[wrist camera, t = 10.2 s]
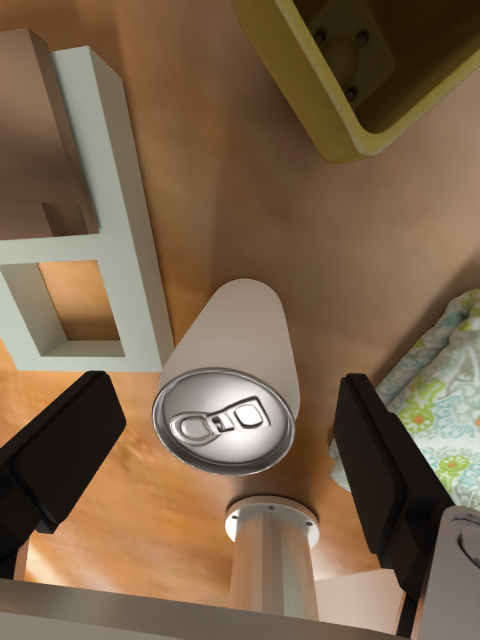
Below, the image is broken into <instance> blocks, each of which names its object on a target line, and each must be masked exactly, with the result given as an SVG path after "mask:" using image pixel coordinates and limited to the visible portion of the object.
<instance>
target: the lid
mask: <svg viewBox="0 0 480 640" xmlns="http://www.w3.org/2000/svg"><path fill="white" fill-rule="evenodd" d="M89 234H100V232H99V229H98V225H97V222H96V218H95V215H94V211H93V207H92V204H91V200H90V197H89V193H88V190H87V186H86V182H85V179H84V175H83V172H82V168H81V165H80V161H79V157H78V154H77V150H76V147H75V143H74V140H73V136H72V132H71V129H70V125H69V122H68V118H67V115H66V111H65V107H64V104H63V100H62V97H61V93H60V90H59V86H58V82H57V79H56V75H55V72H54V68H53V65H52V61H51V58H50V54H49V50H48V47H47V43H46V42H45V41H44V40H43V39H41V38H40V37H39V36H38V35H36V34H35V33H34V32H33V31H32V30H30V29H29V28H28V27H25V28H20V29H15V30H9V31H4V32H0V241H1V240H17V239H33V238H49V237H63V236H76V235H89Z"/></svg>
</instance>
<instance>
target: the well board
mask: <svg viewBox="0 0 480 640" xmlns="http://www.w3.org/2000/svg"><path fill="white" fill-rule="evenodd" d="M49 54H50V58H51V61H52V65H53V68H54V72H55V75H56V79H57V82H58V86H59V90H60V93H61V97H62V100H63V104H64V107H65V111H66V115H67V118H68V122H69V125H70V129H71V132H72V136H73V140H74V143H75V147H76V150H77V154H78V157H79V161H80V165H81V168H82V172H83V175H84V179H85V182H86V186H87V190H88V193H89V197H90V200H91V204H92V207H93V211H94V215H95V218H96V222H97V225H98V229H99V232H100V234H89V235H76V236H63V237H49V238H33V239H17V240H1V241H0V337H1V339H2V341H3V343H4V344H5V346H6V348H7V350H8V352H9V354H10V356H11V358H12V360H13V362H14V363H15V365H16V367H17V369H18V370H19V371H90V370H98V371H105V372H162V370H163V368H164V366H165V364H166V362H167V360H168V359H169V357H170V356H171V354H172V353H173V351H174V350H175V347H174V342H173V337H172V331H171V326H170V321H169V316H168V311H167V306H166V301H165V296H164V291H163V286H162V280H161V275H160V270H159V265H158V260H157V255H156V250H155V245H154V240H153V234H152V229H151V224H150V219H149V214H148V209H147V204H146V199H145V194H144V189H143V183H142V178H141V173H140V168H139V163H138V158H137V153H136V148H135V143H134V138H133V132H132V127H131V122H130V117H129V112H128V107H127V102H126V97H125V92H124V86H123V81H122V79H121V78H120V77H119V76H118V75H117V74H116V73H115V72H114V71H113V70H112V69H111V68H110V67H109V66H108V65H107V64H106V63H105V62H104V61H103V60H102V59H101V58H100V57H99V56H98V55H97V54H96V53H95V52H94V51H93V50H92V49H91V48H90V47H89V46H83V47H77V48H71V49H65V50H59V51H53V52H49ZM82 260H97V262H98V266H99V269H100V273H101V276H102V279H103V283H104V286H105V289H106V293H107V296H108V299H109V303H110V306H111V309H112V313H113V316H114V320H115V323H116V326H117V330H118V333H119V336H120V340H67V338H66V335H65V333H64V330H63V328H62V325H61V323H60V320H59V318H58V315H57V313H56V310H55V308H54V305H53V303H52V300H51V298H50V295H49V293H48V290H47V288H46V285H45V283H44V280H43V278H42V275H41V273H40V270H39V268H38V265H37V263H41V262H61V261H82Z"/></svg>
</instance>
